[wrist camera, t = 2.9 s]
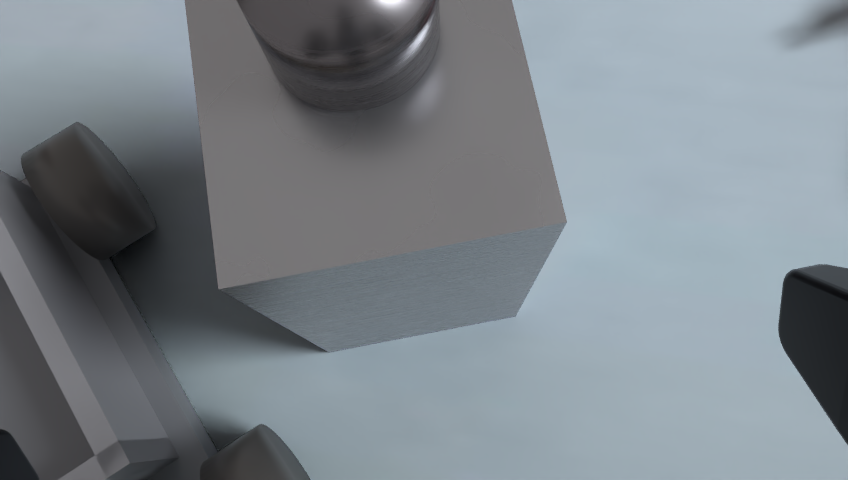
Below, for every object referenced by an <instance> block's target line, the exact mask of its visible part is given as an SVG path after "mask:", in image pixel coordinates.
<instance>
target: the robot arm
mask: <svg viewBox="0 0 848 480" xmlns="http://www.w3.org/2000/svg"><path fill="white" fill-rule="evenodd" d="M778 330H779V337H780V341H781V344H782V346H783V348H784V350H785V352H786V354H787V355H788V357H789V358H790V360H791V361H792V363H793V364H794V366H795V367H796V369H797V370H798V372H799V373H800V375H801V376H802V378H803V379H804V381H805V382H806V384H807V385H808V387H809V388H810V390H811V391H812V393H813V394H814V396H815V397H816V399H817V400H818V402H819V403H820V405H821V406H822V408H823V409H824V411H825V412H826V414H827V415H828V417H829V418H830V420H831V421H832V423H833V424H834V426H835V427H836V429H837V430H838V432H839V433H840V435H841V436H842V437H843V439H844V440H845V442H846V443H847V444H848V268H842V267H837V266H832V265H823V264H819V265H814V266H809V267H804V268H799V269H794V270H791V271H790V272H788V273H787V274H786V276H785V278H784V281H783V288H782V297H781V307H780V316H779V327H778ZM0 480H40V479H39V476H38V474H37V473H36V471H35V469H34V468H33V466H32V465H31V463H30V462H29V460H28V459H27V457H26V456H25V454H24V453H23V451H22V450H21V448H20V447H19V445H18V444H17V442H16V440H15V439H14V437H13V436H12V435H11V434H10V433H9V432H7V431H6V430H3V429H0Z"/></svg>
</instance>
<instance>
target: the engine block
mask: <svg viewBox="0 0 848 480" xmlns="http://www.w3.org/2000/svg"><path fill="white" fill-rule="evenodd" d="M185 6H186V15H187V23H188V32H189V40H190V49H191V58H192V66H193V75H194V84H195V92H196V101H197V109H198V118H199V127H200V135H201V144H202V153H203V161H204V170H205V178H206V187H207V196H208V204H209V213H210V222H211V230H212V239H213V247H214V256H215V265H216V273H217V282H218V289H219V290H220V291H222V292H224V293H226V294H227V295H229V296H231V297H233V298H234V299H236V300H238V301H240V302H241V303H243V304H245V305H247V306H248V307H250V308H252V309H254V310H255V311H257V312H259V313H261V314H263V315H264V316H266V317H268V318H270V319H271V320H273V321H275V322H277V323H278V324H280V325H282V326H284V327H285V328H287V329H289V330H291V331H292V332H294V333H296V334H298V335H299V336H301V337H303V338H305V339H306V340H308V341H310V342H312V343H313V344H315V345H317V346H319V347H320V348H322V349H324V350H326V351H328V352H334V351H339V350H344V349H350V348H355V347H360V346H365V345H370V344H375V343H381V342H386V341H391V340H396V339H401V338H406V337H412V336H417V335H422V334H427V333H432V332H437V331H443V330H448V329H453V328H458V327H463V326H468V325H474V324H479V323H484V322H489V321H494V320H499V319H504V318H510V317H515V316H516V315H517V313H518V311H519V309H520V307H521V305H522V304H523V302H524V300H525V298H526V296H527V294H528V293H529V291H530V289H531V287H532V285H533V283H534V282H535V280H536V278H537V276H538V274H539V272H540V271H541V269H542V267H543V265H544V263H545V261H546V260H547V258H548V256H549V254H550V252H551V250H552V248H553V247H554V245H555V243H556V241H557V239H558V237H559V236H560V234H561V232H562V230H563V228H564V226H565V225H566V223H567V221H566V217H565V213H564V208H563V204H562V200H561V196H560V192H559V188H558V184H557V180H556V176H555V172H554V168H553V164H552V160H551V156H550V152H549V148H548V144H547V140H546V136H545V132H544V128H543V124H542V120H541V116H540V112H539V108H538V104H537V100H536V96H535V92H534V88H533V84H532V80H531V76H530V72H529V68H528V64H527V60H526V56H525V52H524V48H523V44H522V40H521V36H520V32H519V28H518V24H517V20H516V16H515V12H514V8H513V4H512V0H185Z"/></svg>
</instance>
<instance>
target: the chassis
mask: <svg viewBox="0 0 848 480" xmlns="http://www.w3.org/2000/svg"><path fill="white" fill-rule="evenodd" d="M21 164H22V168H23V171H24V174H25V176H26V178H25V179H24V180H22V181H19V180H17V179H15V178H14V177H12V176H10V175H8V174H6V173H5V172H3V171H1V170H0V429H3V430H6V431H7V432H9V433H10V434H11V435H12V436H13V437H14V439H15V440H16V442H17V444H18V445H19V447H20V448H21V450H22V451H23V453H24V454H25V456H26V457H27V459H28V460H29V462H30V463H31V465H32V466H33V468H34V469H35V471H36V473H37V474H38V476H39V479H40V480H310V478H309V476H308V475H307V473H306V472H305V470H304V469H303V467H302V465H301V464H300V463H299V461H298V460H297V458H296V457H295V455H294V454H293V453H292V451H291V450H290V449H289V448H288V446H287V445H286V444H285V443H284V442H283V440H282V439H281V438H280V437H279V436H278V435H277V434H276V433H275V432H274V431H273V430H271V429H270V428H269V427H267V426H265V425H262V424H260V425H258V426H256V427H255V428H253V429H252V430H250V431H249V432H247V433H246V434H244V435H243V436H241V437H240V438H238V439H237V440H235V441H234V442H232V443H231V444H229V445H228V446H226V447H225V448H223V449H222V450H220V451H219V452H218V451H217V449H216V448H215V446H214V444H213V442H212V440H211V439H210V437H209V435H208V433H207V432H206V430H205V428H204V426H203V424H202V423H201V421H200V419H199V417H198V416H197V414H196V412H195V410H194V408H193V407H192V405H191V403H190V401H189V400H188V398H187V396H186V394H185V392H184V391H183V389H182V387H181V385H180V383H179V382H178V380H177V378H176V376H175V375H174V373H173V371H172V369H171V367H170V366H169V364H168V362H167V360H166V359H165V357H164V355H163V353H162V351H161V350H160V348H159V346H158V344H157V342H156V341H155V339H154V337H153V335H152V334H151V332H150V330H149V328H148V326H147V325H146V323H145V321H144V319H143V318H142V316H141V314H140V312H139V310H138V309H137V307H136V305H135V303H134V301H133V300H132V298H131V296H130V294H129V293H128V291H127V289H126V287H125V285H124V284H123V282H122V280H121V278H120V277H119V275H118V273H117V271H116V269H115V268H114V266H113V264H112V262H111V260H110V259H109V257H111V256H113V255H114V254H116V253H117V252H119V251H121V250H122V249H124V248H125V247H127V246H129V245H130V244H132V243H133V242H135V241H137V240H138V239H140V238H141V237H143V236H145V235H146V234H148V233H149V232H151V231H153V230H154V229H155V228H156V223H155V219H154V216H153V214H152V212H151V209H150V207H149V205H148V204H147V202H146V200H145V198H144V196H143V195H142V193H141V191H140V190H139V188H138V187H137V185H136V184H135V182H134V181H133V179H132V178H131V176H130V175H129V174H128V172H127V171H126V169H125V168H124V167H123V165H122V164H121V163H120V162H119V160H118V159H117V158H116V157H115V155H114V154H113V153H112V152H111V151H110V149H109V148H108V147H107V146H106V145H105V144H104V143H103V142H102V141H101V140H100V139H99V138H98V137H97V136H96V135H95V134H94V133H93V132H92V131H91V130H90V129H89V128H87V127H86V126H84V125H83V124H81V123H79V122H76V123H74V124H72V125H71V126H69V127H67V128H66V129H64V130H62V131H61V132H59V133H57V134H56V135H54V136H52V137H51V138H49V139H47V140H46V141H44V142H42V143H41V144H39V145H37V146H36V147H34V148H32V149H31V150H29V151H27V152H26V153H24V154H23V155H22V157H21Z"/></svg>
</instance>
